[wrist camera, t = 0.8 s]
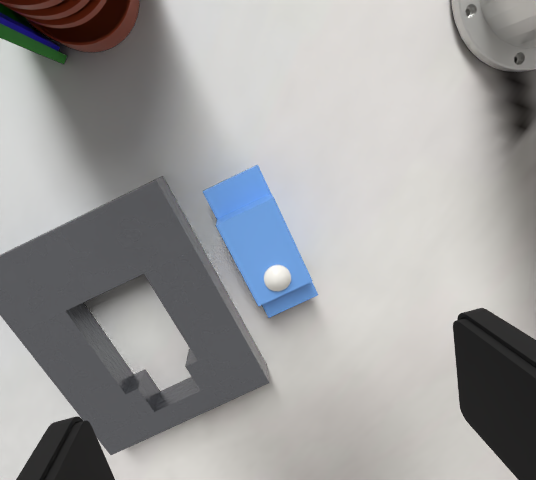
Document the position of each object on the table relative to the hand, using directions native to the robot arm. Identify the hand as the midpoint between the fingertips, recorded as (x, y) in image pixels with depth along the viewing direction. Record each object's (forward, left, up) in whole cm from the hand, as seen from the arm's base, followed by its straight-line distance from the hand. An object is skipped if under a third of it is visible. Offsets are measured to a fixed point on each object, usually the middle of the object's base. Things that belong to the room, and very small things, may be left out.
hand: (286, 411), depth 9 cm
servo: (0, +2, -23) cm, 23 cm away
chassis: (+13, +4, -23) cm, 26 cm away
